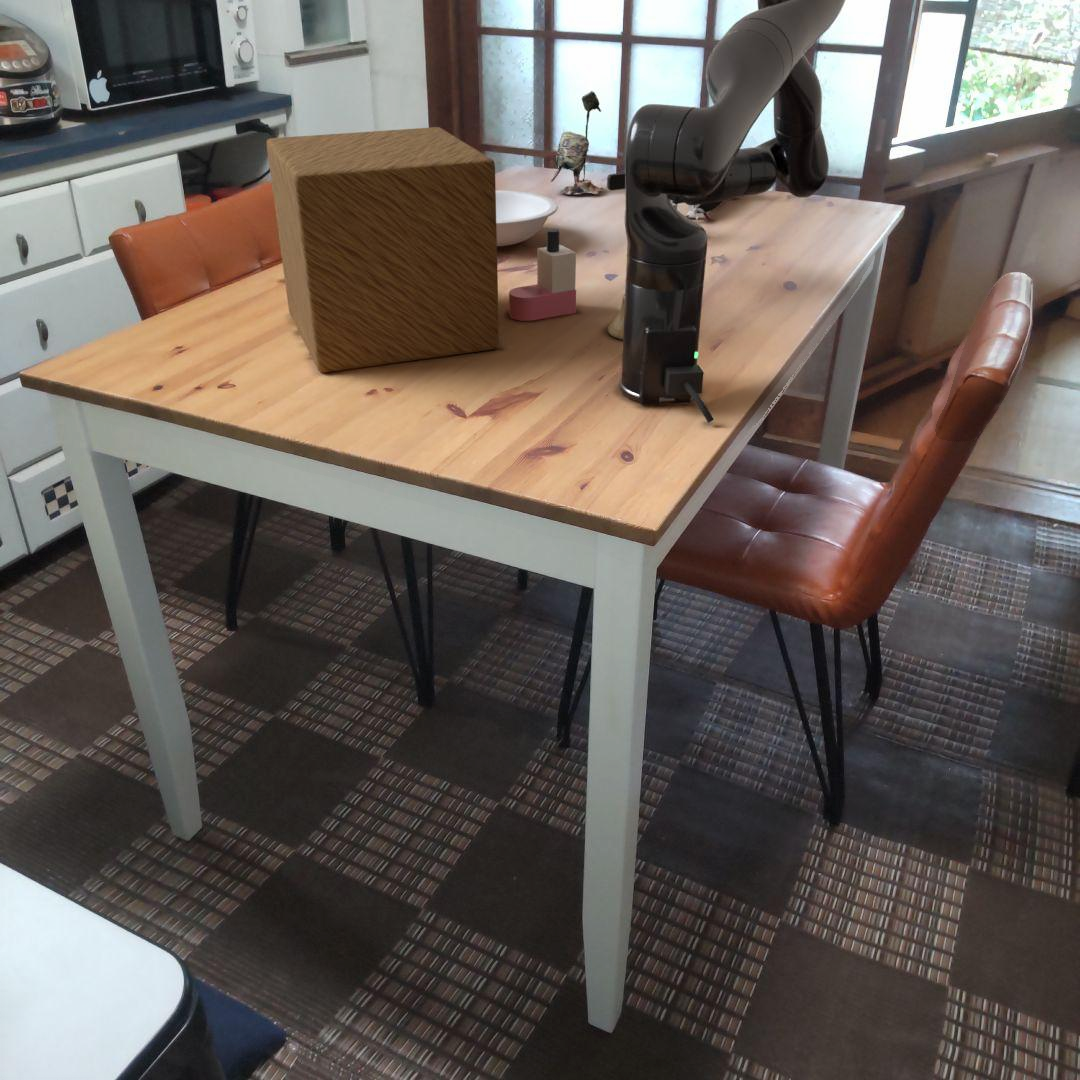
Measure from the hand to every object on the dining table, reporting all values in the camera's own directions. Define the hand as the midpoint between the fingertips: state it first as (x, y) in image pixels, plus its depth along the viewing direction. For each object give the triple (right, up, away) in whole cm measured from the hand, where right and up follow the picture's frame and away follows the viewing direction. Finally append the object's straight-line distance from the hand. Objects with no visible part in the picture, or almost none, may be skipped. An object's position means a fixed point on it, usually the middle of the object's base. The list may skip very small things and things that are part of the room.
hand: (623, 188), depth 149 cm
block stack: (-12, -18, +3) cm, 22 cm away
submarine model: (+25, +16, +58) cm, 65 cm away
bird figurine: (-4, +23, +69) cm, 72 cm away
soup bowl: (-21, +2, +36) cm, 41 cm away
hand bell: (+2, -22, -4) cm, 22 cm away
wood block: (-34, -22, -4) cm, 40 cm away
